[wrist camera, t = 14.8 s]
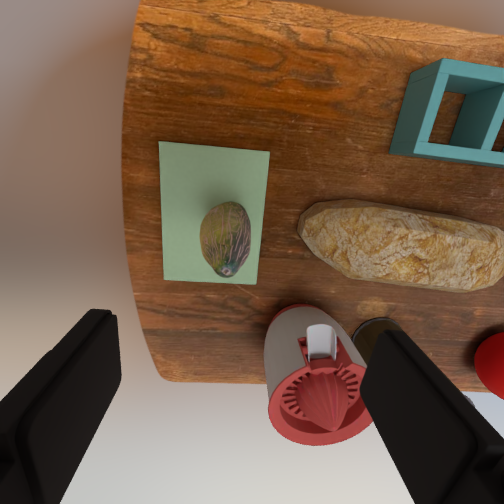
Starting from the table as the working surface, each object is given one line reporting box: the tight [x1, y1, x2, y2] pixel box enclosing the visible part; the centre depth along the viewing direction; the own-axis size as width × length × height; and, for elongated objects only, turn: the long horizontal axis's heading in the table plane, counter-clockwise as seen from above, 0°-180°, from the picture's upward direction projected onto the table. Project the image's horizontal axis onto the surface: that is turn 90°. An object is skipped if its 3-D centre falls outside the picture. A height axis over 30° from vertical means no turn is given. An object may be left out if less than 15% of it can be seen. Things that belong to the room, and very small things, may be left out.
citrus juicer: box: [264, 304, 373, 446], centre depth 40 cm, size 16×17×20 cm
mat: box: [159, 141, 270, 285], centre depth 41 cm, size 22×16×1 cm
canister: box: [352, 318, 475, 407], centre depth 43 cm, size 11×10×20 cm
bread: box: [297, 199, 504, 293], centre depth 40 cm, size 36×11×10 cm, turn 81°
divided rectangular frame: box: [389, 58, 504, 168], centre depth 36 cm, size 11×20×6 cm, turn 84°
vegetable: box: [199, 201, 251, 278], centre depth 31 cm, size 6×6×20 cm
